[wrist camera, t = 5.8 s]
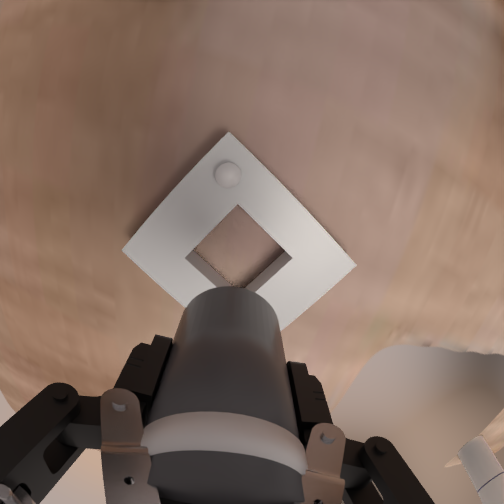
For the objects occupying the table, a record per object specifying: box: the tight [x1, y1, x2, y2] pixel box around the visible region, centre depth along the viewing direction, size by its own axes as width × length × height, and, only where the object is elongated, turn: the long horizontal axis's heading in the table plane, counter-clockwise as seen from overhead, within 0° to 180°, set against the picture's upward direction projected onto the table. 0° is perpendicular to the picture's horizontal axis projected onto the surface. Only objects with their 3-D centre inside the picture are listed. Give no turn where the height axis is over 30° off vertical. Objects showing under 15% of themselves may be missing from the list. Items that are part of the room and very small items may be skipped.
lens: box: [141, 286, 308, 504], centre depth 10 cm, size 5×5×10 cm
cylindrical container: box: [458, 435, 504, 504], centre depth 32 cm, size 7×7×25 cm
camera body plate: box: [122, 132, 356, 331], centre depth 27 cm, size 16×14×4 cm
